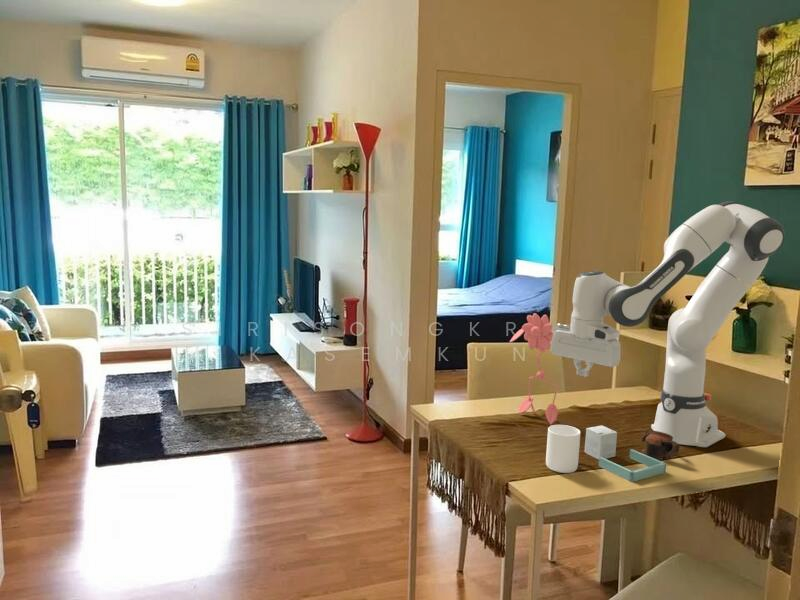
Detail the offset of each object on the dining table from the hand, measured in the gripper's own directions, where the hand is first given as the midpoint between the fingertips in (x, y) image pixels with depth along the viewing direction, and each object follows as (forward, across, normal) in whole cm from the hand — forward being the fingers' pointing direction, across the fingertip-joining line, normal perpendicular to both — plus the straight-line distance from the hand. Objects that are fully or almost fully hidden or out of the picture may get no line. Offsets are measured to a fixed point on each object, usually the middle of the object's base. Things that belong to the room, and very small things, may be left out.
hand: (582, 375), depth 185 cm
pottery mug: (+21, +20, +9) cm, 31 cm away
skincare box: (+21, +8, -2) cm, 23 cm away
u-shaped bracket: (+20, +19, -5) cm, 28 cm away
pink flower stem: (+21, -20, +8) cm, 30 cm away
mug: (+21, +6, -16) cm, 27 cm away
